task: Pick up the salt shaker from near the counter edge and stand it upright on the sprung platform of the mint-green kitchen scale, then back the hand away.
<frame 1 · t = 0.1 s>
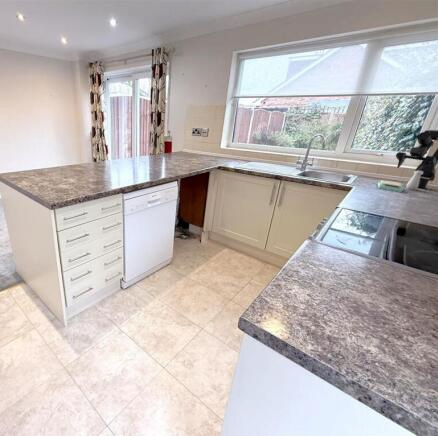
hand: (406, 169, 161), 15 cm above the worktop, tool tilted 30°, fingers open, 9 cm apart
scale platform: (391, 183, 173), point 3 cm above the worktop, slide at 0.0 cm
scale: (389, 188, 173), on the worktop
salt shaker: (410, 189, 173), on the worktop
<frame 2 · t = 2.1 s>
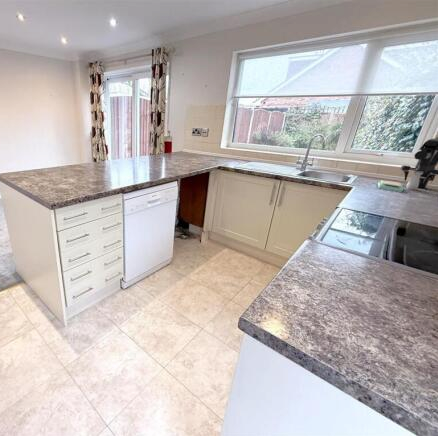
hand: (413, 182, 171), 5 cm above the worktop, tool pointing down
salt shaker: (410, 189, 173), on the worktop, touching gripper
everything else where it was.
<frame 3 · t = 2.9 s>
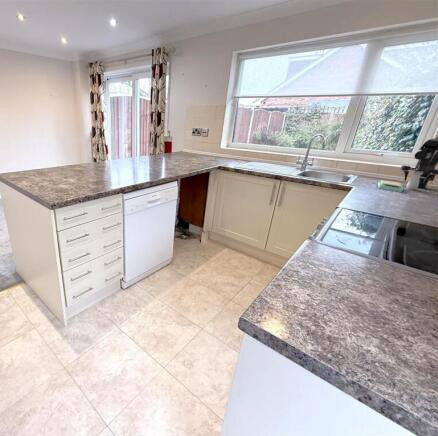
hand: (413, 182, 171), 5 cm above the worktop, tool pointing down
salt shaker: (410, 189, 173), on the worktop, touching gripper
everything else where it was.
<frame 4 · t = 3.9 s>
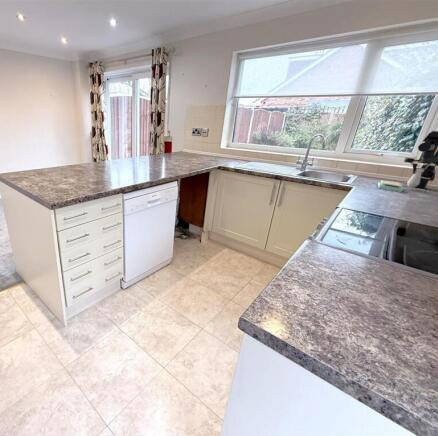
hand: (417, 174, 169), 11 cm above the worktop, tool pointing down, fingers closed on salt shaker, 4 cm apart
salt shaker: (411, 186, 172), point 2 cm above the worktop, touching gripper
everything else where it was.
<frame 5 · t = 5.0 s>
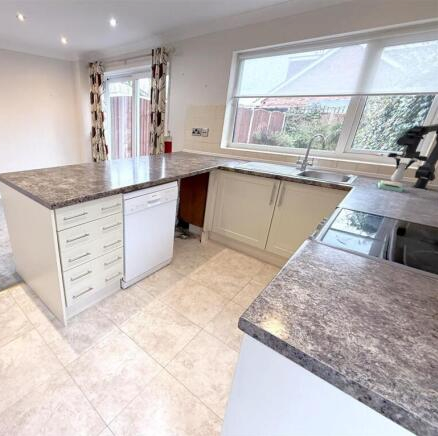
hand: (400, 169, 168), 13 cm above the worktop, tool pointing down, fingers closed on salt shaker, 4 cm apart
salt shaker: (395, 181, 172), point 4 cm above the worktop, touching gripper
everything else where it was.
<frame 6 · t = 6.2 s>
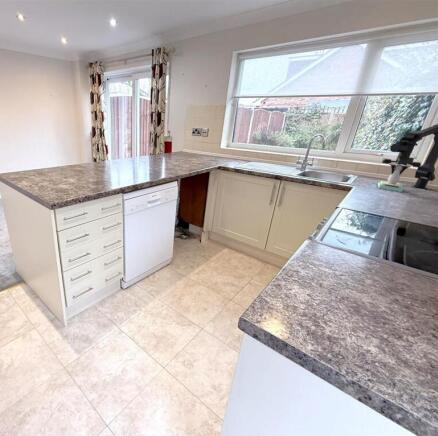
hand: (395, 175, 170), 9 cm above the worktop, tool pointing down, fingers closed on salt shaker, 3 cm apart
scale platform: (390, 183, 173), point 3 cm above the worktop, slide at -0.3 cm, touching salt shaker, scale
salt shaker: (391, 183, 173), point 3 cm above the worktop, touching gripper, scale platform
when the fingers open (9 cm above the worktop, at t = 6.3 s): salt shaker stays where it is, resting on scale platform.
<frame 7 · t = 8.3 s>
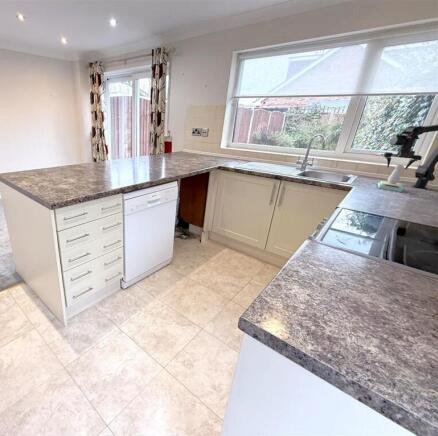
hand: (396, 168, 174), 13 cm above the worktop, tool pointing down, fingers open, 9 cm apart
scale platform: (390, 183, 173), point 3 cm above the worktop, slide at -0.3 cm, touching salt shaker
salt shaker: (391, 183, 173), point 3 cm above the worktop, touching scale platform
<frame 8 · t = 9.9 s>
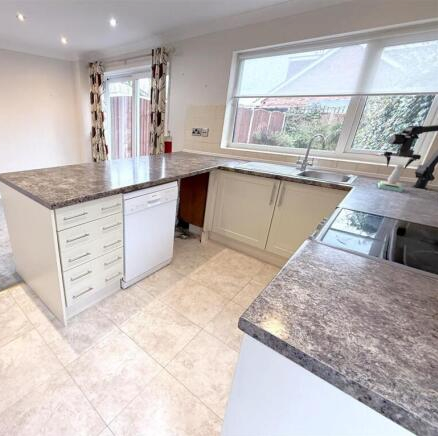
hand: (395, 167, 176), 13 cm above the worktop, tool pointing down, fingers open, 9 cm apart
nothing on the worktop moved.
at the end: salt shaker inside the target area on the scale (0.6 cm from its centre), point 3.0 cm above the scale's base; salt shaker tilted 0°; the gripper is holding nothing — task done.
